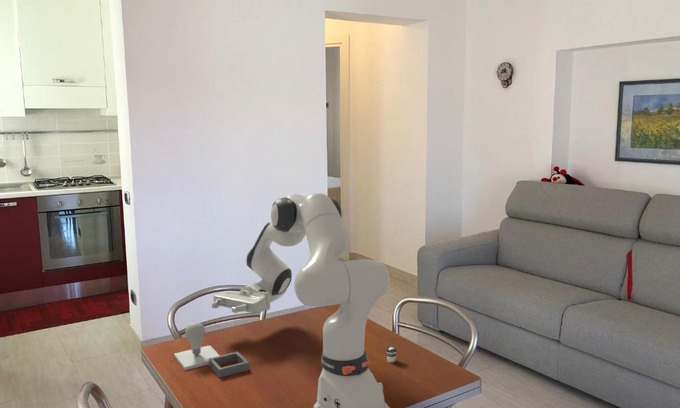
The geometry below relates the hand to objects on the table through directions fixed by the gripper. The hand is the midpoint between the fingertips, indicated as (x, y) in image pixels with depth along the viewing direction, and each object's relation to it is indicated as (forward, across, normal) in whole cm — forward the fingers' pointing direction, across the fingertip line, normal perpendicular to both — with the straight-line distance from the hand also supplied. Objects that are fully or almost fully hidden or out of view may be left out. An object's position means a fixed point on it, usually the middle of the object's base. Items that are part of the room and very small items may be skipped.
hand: (223, 308), depth 189 cm
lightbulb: (+12, -1, +13) cm, 17 cm away
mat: (+12, -1, +14) cm, 18 cm away
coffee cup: (-19, +53, +15) cm, 58 cm away
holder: (+11, +13, +14) cm, 22 cm away
